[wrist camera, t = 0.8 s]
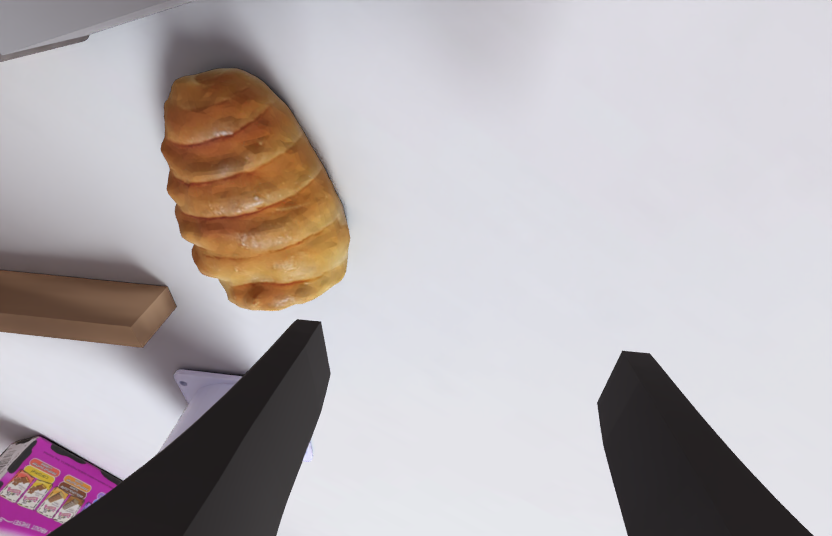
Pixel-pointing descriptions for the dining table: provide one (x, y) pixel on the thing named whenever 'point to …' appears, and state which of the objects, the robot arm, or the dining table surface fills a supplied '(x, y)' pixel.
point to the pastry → (251, 192)
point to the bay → (80, 296)
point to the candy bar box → (45, 487)
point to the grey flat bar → (67, 19)
